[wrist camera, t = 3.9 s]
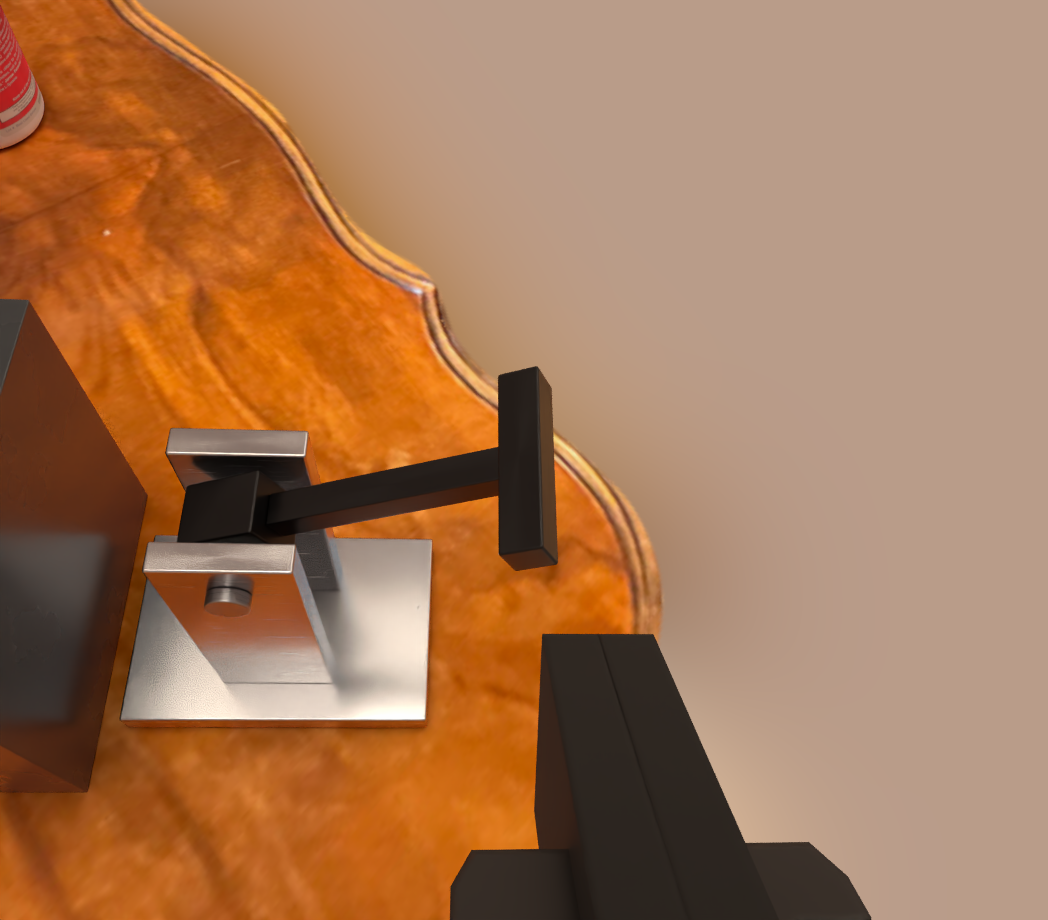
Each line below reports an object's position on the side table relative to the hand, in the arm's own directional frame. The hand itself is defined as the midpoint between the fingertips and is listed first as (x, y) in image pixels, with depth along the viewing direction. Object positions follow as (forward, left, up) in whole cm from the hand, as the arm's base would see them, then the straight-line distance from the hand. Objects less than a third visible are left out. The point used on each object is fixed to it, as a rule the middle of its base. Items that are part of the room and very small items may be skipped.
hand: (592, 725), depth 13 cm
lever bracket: (+13, -3, -26) cm, 30 cm away
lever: (+9, -6, -15) cm, 18 cm away
